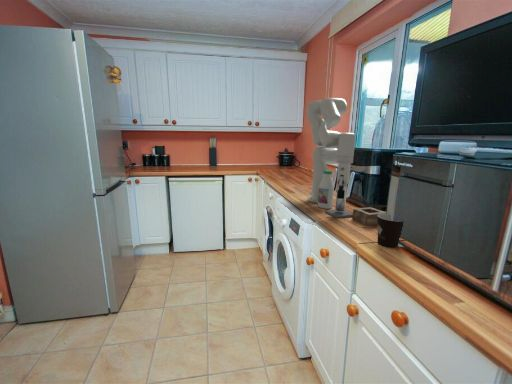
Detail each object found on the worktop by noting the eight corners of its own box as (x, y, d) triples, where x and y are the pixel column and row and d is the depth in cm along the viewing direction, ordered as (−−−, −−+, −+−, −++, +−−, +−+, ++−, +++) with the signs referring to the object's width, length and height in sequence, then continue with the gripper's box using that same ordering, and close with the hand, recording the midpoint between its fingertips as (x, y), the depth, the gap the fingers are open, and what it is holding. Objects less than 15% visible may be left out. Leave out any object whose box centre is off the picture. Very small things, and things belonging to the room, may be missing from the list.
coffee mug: (402, 251, 86) (406, 222, 84) (374, 246, 90) (377, 218, 87) (399, 239, 96) (403, 213, 94) (374, 235, 100) (377, 210, 98)
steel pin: (339, 211, 124) (341, 185, 121) (333, 209, 128) (335, 183, 125) (346, 211, 126) (349, 184, 123) (340, 208, 130) (343, 183, 127)
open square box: (352, 219, 120) (353, 208, 119) (369, 217, 123) (370, 207, 122) (368, 225, 111) (369, 214, 110) (386, 223, 114) (387, 213, 113)
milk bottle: (327, 205, 145) (329, 169, 141) (335, 208, 138) (338, 171, 134) (314, 205, 143) (317, 169, 139) (322, 209, 136) (325, 171, 132)
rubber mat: (325, 212, 130) (325, 210, 130) (341, 211, 133) (341, 209, 133) (337, 218, 121) (337, 216, 121) (354, 216, 124) (355, 214, 124)
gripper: (351, 161, 113) (347, 201, 116) (354, 158, 128) (351, 194, 131) (333, 160, 116) (330, 200, 120) (339, 158, 131) (335, 193, 135)
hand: (341, 196), depth 125 cm, fingers open, 4 cm apart
